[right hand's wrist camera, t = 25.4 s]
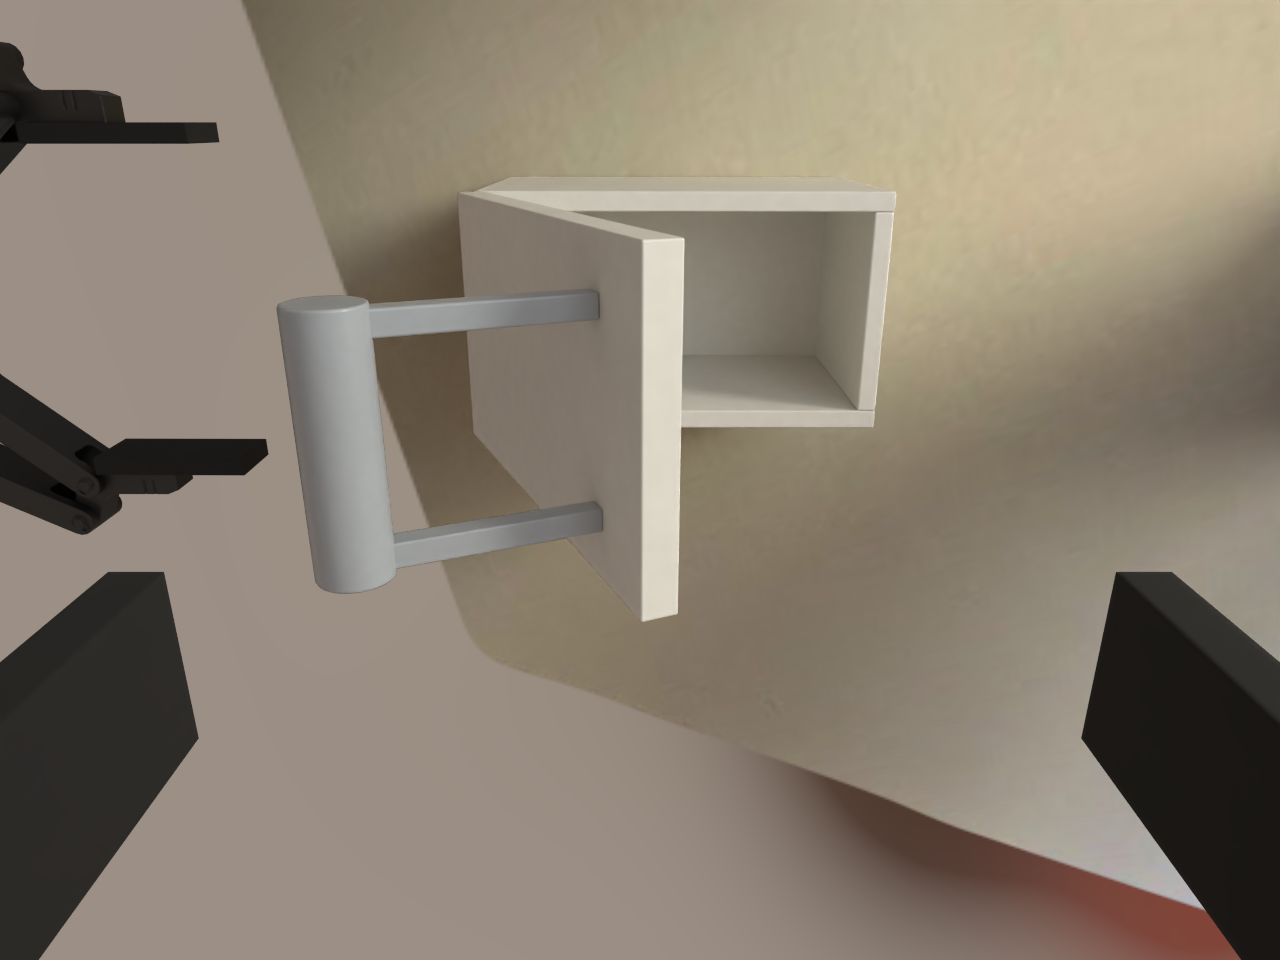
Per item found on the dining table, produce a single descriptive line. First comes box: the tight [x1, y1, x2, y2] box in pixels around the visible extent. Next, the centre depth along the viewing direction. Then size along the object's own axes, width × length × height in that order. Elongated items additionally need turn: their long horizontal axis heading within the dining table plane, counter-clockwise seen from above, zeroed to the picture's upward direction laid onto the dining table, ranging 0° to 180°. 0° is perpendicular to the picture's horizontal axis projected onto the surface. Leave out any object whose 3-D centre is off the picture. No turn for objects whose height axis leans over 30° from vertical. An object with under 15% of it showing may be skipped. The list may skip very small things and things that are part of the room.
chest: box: [474, 177, 896, 428], centre depth 42 cm, size 16×10×11 cm, turn 90°
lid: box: [277, 192, 684, 622], centre depth 28 cm, size 17×10×8 cm
